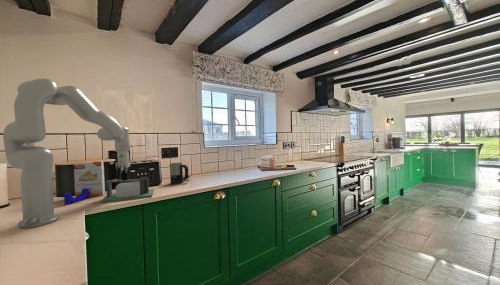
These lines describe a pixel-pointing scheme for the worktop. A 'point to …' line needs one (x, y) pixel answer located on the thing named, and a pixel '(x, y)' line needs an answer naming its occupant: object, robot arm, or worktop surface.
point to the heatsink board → (113, 198)
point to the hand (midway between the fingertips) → (124, 179)
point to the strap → (125, 180)
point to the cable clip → (70, 200)
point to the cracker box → (89, 178)
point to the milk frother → (178, 173)
